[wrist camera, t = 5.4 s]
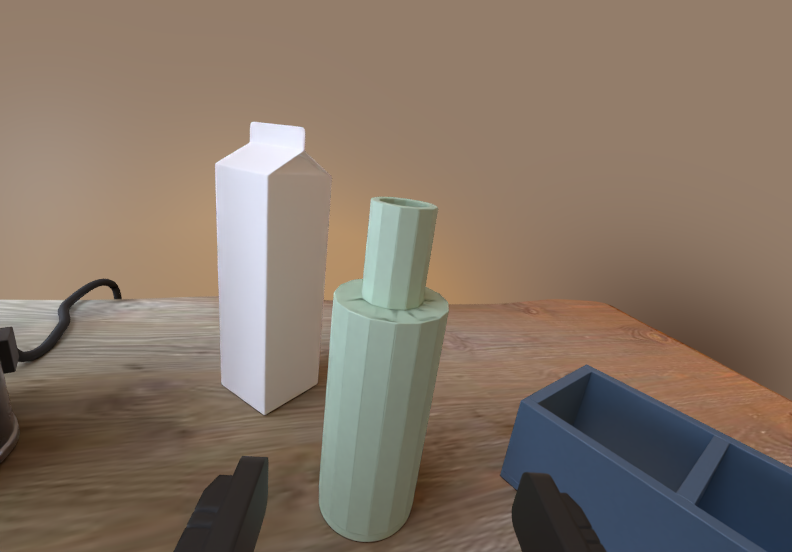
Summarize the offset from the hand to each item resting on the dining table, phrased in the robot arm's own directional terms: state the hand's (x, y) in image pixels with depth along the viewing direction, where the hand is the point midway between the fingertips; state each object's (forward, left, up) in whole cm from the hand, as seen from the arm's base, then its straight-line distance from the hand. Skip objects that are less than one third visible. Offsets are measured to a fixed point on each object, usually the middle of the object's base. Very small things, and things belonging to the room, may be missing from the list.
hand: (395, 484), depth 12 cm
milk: (-22, +4, -12) cm, 25 cm away
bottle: (-8, +5, -11) cm, 15 cm away
